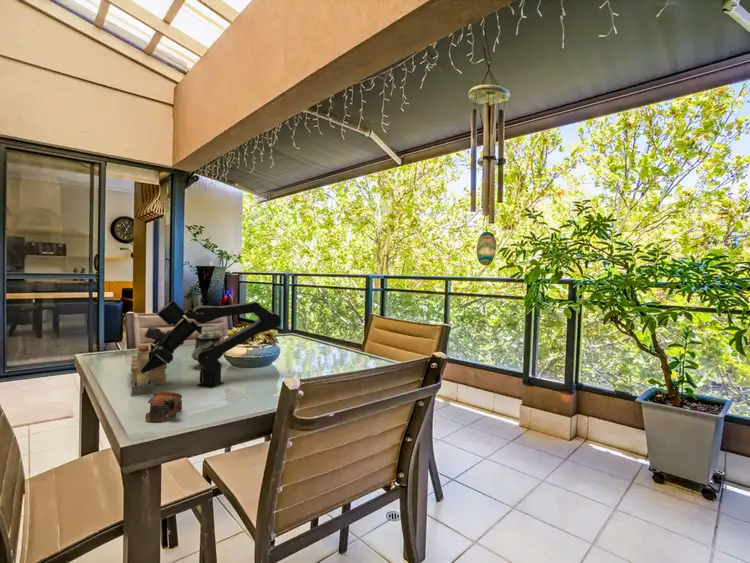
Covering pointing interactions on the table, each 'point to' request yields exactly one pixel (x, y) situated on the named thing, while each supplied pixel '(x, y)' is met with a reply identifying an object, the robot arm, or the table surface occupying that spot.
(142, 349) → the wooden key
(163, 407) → the brown black chunky piece
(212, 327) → the apothecary jar
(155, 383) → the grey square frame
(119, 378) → the table surface
